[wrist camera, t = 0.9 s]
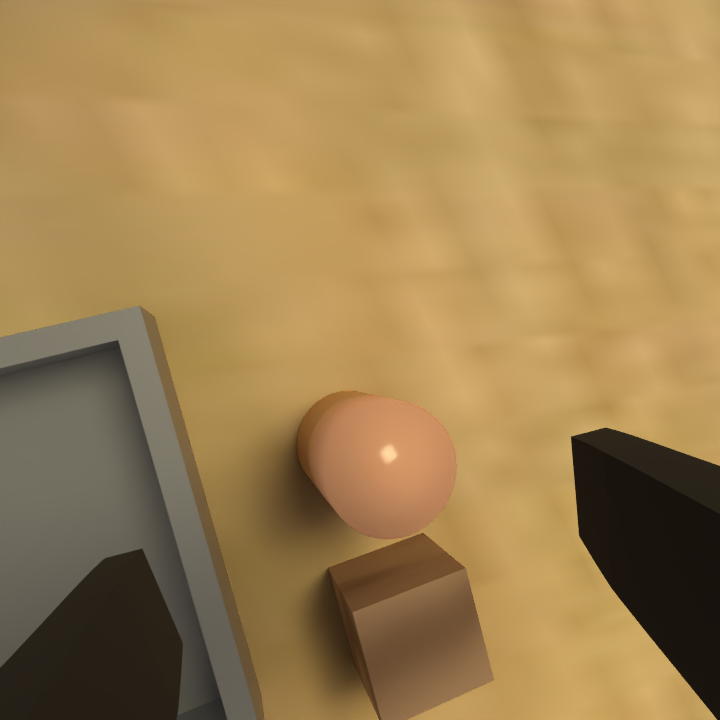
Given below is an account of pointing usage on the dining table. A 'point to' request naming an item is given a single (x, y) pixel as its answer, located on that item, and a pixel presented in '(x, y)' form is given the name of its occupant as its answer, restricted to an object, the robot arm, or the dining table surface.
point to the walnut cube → (411, 626)
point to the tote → (112, 496)
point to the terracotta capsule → (378, 462)
